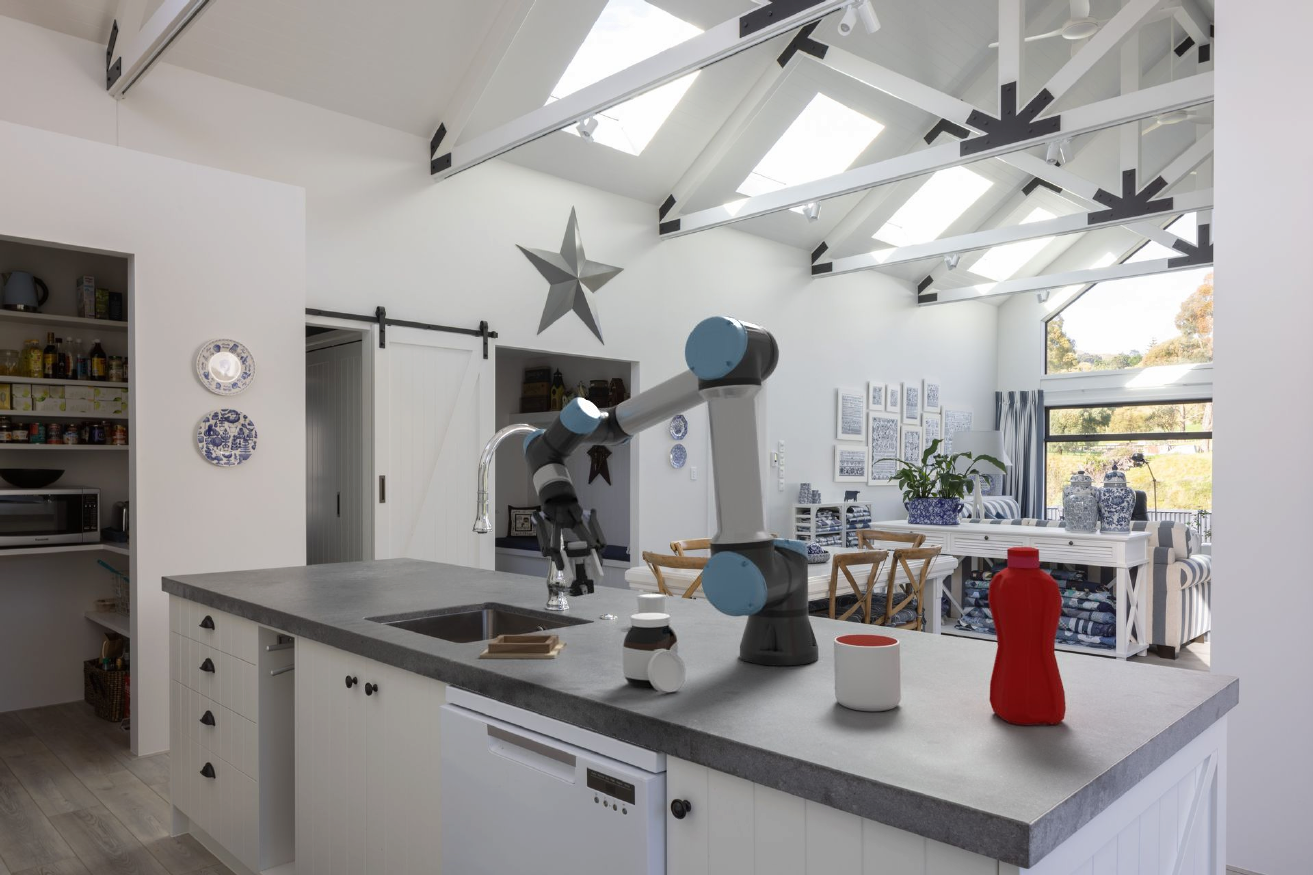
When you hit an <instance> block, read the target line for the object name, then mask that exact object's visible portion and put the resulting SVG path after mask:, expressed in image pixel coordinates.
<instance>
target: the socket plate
mask: <svg viewBox="0 0 1313 875" xmlns="http://www.w3.org/2000/svg"><path fill="white" fill-rule="evenodd" d="M566 646H567V641H560V640H559V634H499V635H498V636H496V637H495V638H494V639H493V640H492V641H490V642H488V645H487V648H486V649H485V650H484V651H483V652H482V653H480V654H479V656H478V657H479V658H478V659H555V658H556V657H557V656H558V655H559V654H560V652H562V650H563V649H564V648H565V647H566Z"/></svg>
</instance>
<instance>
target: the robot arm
mask: <svg viewBox="0 0 1313 875" xmlns="http://www.w3.org/2000/svg"><path fill="white" fill-rule="evenodd" d="M779 357H780V350H779V345H778V342H777V340H776V338H775V337H774V335H773V334H772V333H771V332H770V330H768V329H766V328H765V327H763V326H761V325H758V324H755V323H751V322H746V321H743V320H739V319H738V318H736V317H732V316H720V315H718V316H717V315H716V316H710V317H707V318H706V319H703V320H702V321H700V322H699V323H697V325H695V327H694V328H693V330H692V331H691V332H690V333H689V335H688V337H687V339H686V342H685V347H684V358H685V362H686V365H687V367H688V368H689V369H687V370H685V371H683V372H681V373H679V374H677V375H675V376H672V377H671V378H668V379H667V380H664V381H663V382H661V383H659V384H656V385H654V386H653V387H651V388H648V389H646V390H644V391H642V392H641V393H638V394H636V395H634V396H632V397H630V398H628V399H626V400H624V401H622V402H620V403H619V404H616V405H614V406H612V407H610V408H609V409H606V410H601V409H600V410H599V409H598V407H597V406H596V405H595V404H594V403H593V402H591V401H590V400H586V399H585V398H584V397H574V398H573V399H571V400H570V402H569V403H568V404H567V405H565V406H564V407H563V409H561V411H560V412H559V413H558V414H557V416H556V417H555V418H554V420H553V421H552V422H551V423H550V424H549V426H548V427H547V428H541V429H539V428H538V429H536V430H534V431H533V432H531V433H528V434H527V435H526V437H525V438H524V440H523V444H522V445H523V446H522V447H523V453H524V459H525V461H526V464H527V466H528V469H529V472H530V474H531V478H532V481H533V482H532V483H533V485H534V488H535V492H536V495H537V499H538V502H539V504H540V508H541V511H537V510H533V511H532V514H531V517H530V519H529V520H530V523H531V524H532V526H533V527H534V530H535V533H536V537H537V542H538V544H539V549H540V551H541V556H542V557H544V558H548V557H550V561H551V562H552V563H553V562H554V566H555V568H556V570H557V571H558V572H561V573H562V577H563V580H564V583H565V586H566V587H567V588H568V587H570V586H571V584H572V581H573V578H574V577H573V574H572V570H571V567H570V560H569V557H567V555H566V552H565V551H564V550H561V548H562V547H561V546H562V530H563V529H570V530H571V532H572V533H573V534H576V537H577V538H578V539H579V540H580V541H586V542H587V545H588V546H591V548H592V549H590V550H591V555H588V556H587V561H588V563H589V566H590V568H591V572H592V574H593V577H594V581H595V583H596V585H601V584H602V582H603V578H604V576H605V574H604V571H603V568H602V566H603V564H604V559H603V557H602V554H604V552H605V550H606V548H607V545H608V543H607V540H606V538H605V535H604V533H603V530H602V529H601V525H600V523H599V520H598V518H597V509H595V508H590V510H587V509H584V508H583V507H582V505H580V503H579V499H578V494H577V492H576V490H575V488H574V486H573V485H574V484H573V482H572V481H573V480H572V479H571V476H570V474H569V470H568V467H567V465H566V461H568V459H569V458H570V457H571V456H572V455H573V454H574V453H575V452H576V451H577V449H578V448H580V447H581V446H610V447H618V446H622V445H626V444H628V443H630V441H631V440H632V438H634V436H635V435H637V434H639V433H641V432H644V431H646V430H648V429H650V428H652V427H654V426H657V425H659V424H661V423H663V422H665V421H667V420H669V419H673V418H674V417H676V416H678V415H681V414H683V413H684V412H687V411H689V410H691V409H693V408H695V407H697V406H700V405H702V404H704V403H706V402H707V409H708V422H709V435H710V449H711V461H712V462H711V463H712V475H713V476H712V477H713V489H714V490H713V491H714V502H715V503H714V504H715V515H716V516H715V517H716V533H715V534H714V535H713V537H712V538H711V539H710V540H709V547H710V549H709V550H710V557H709V558H708V560H707V562H706V564H705V565H704V566H703V569H702V571H701V587H702V591H703V593H704V596H705V597H706V600H707V601H708V602H709V604H710V605H712V607H714V608H715V609H716V610H717V611H718V612H719V613H722V614H724V615H726V616H730V617H744V616H745V617H746V616H747V620H746V624H745V626H744V627H745V628H744V631H743V633H742V637H741V640H740V644H739V658H740V659H741V660H743V661H746V662H749V663H752V664H758V665H765V666H778V667H779V666H798V665H799V666H800V665H806V664H811V663H814V662H816V661H817V660H818V659H819V645H818V642H817V639H816V637H815V633H814V630H813V627H812V625H811V621H810V617H809V616H810V615H809V572H808V571H809V556H808V547H807V544H806V543H805V542H804V541H802V540H800V539H792V538H791V539H789V538H778V537H777V538H774V535H772V534H771V533H770V532H768V531H767V530H766V528H765V522H764V508H763V494H762V483H761V482H762V481H761V480H762V479H761V470H760V466H761V465H760V456H759V443H758V442H759V441H758V432H757V431H758V429H757V416H756V407H755V406H756V403H755V399H756V396H757V395H758V393H760V391H761V390H762V388H763V386H762V383H763V382H765V381H766V380H767V379H768V378H770V376H772V374H774V371H775V370H776V369H777V365H778V362H779ZM582 517H583V519H584V520H583V519H582ZM545 521H547V523H550V525H551V533H552V534H551V537H552V539H551V540H552V542H551V541H550V539H549V535H548V531H547V528H546V527H547V526H546V524H545ZM584 522H585V523H587V526H588V527H586V526H585V524H584Z"/></svg>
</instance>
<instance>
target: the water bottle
mask: <svg viewBox="0 0 1313 875" xmlns="http://www.w3.org/2000/svg"><path fill="white" fill-rule="evenodd" d="M1006 554H1007V555H1006V560H1007V567H1006V568H1003V569H1001V570H1000V571H998V572H997V573H996V574H995V575H994V576H992V579H991V580H990V582H989V587H988V595H987V602H988V606H989V610H990V613H991V617H992V621H993V625H994V630H995V634H996V643H997V644H996V645H997V648H996V652H995V653H996V654H995V659H994V664H993V667H992V668H993V669H992V673H991V678H990V682H989V683H990V684H989V703H990V706H991V709H992V711H993V713H994V714H995V715H997V716H998V717H1000V718H1001V719H1003V720H1004V721H1006V722H1007V723H1010V724H1014V725H1018V726H1033V725H1037V726H1038V725H1041V726H1043V725H1052V726H1053V725H1057V724H1059V723H1061V722H1062V721H1063V720H1064V719H1065V715H1066V711H1067V708H1066V694H1065V689H1064V685H1063V681H1062V677H1061V673H1060V668H1059V665H1058V661H1057V658H1056V654H1055V651H1056V650H1055V649H1056V648H1055V644H1056V643H1055V642H1056V635H1057V631H1058V627H1059V623H1060V622H1059V621H1060V619H1061V618H1060V617H1061V615H1062V614H1061V613H1062V607H1063V606H1062V605H1063V598H1062V595H1061V592H1060V586H1059V583H1058V582H1057V581H1056V580H1055V578H1053V576H1052V575H1050V574H1049V573H1047V572H1046V571H1044V570H1043V569H1041V568H1040V548H1039V549H1038V548H1037V547H1036V548H1035V547H1032V546H1013V547H1011V548H1007V549H1006Z"/></svg>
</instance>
